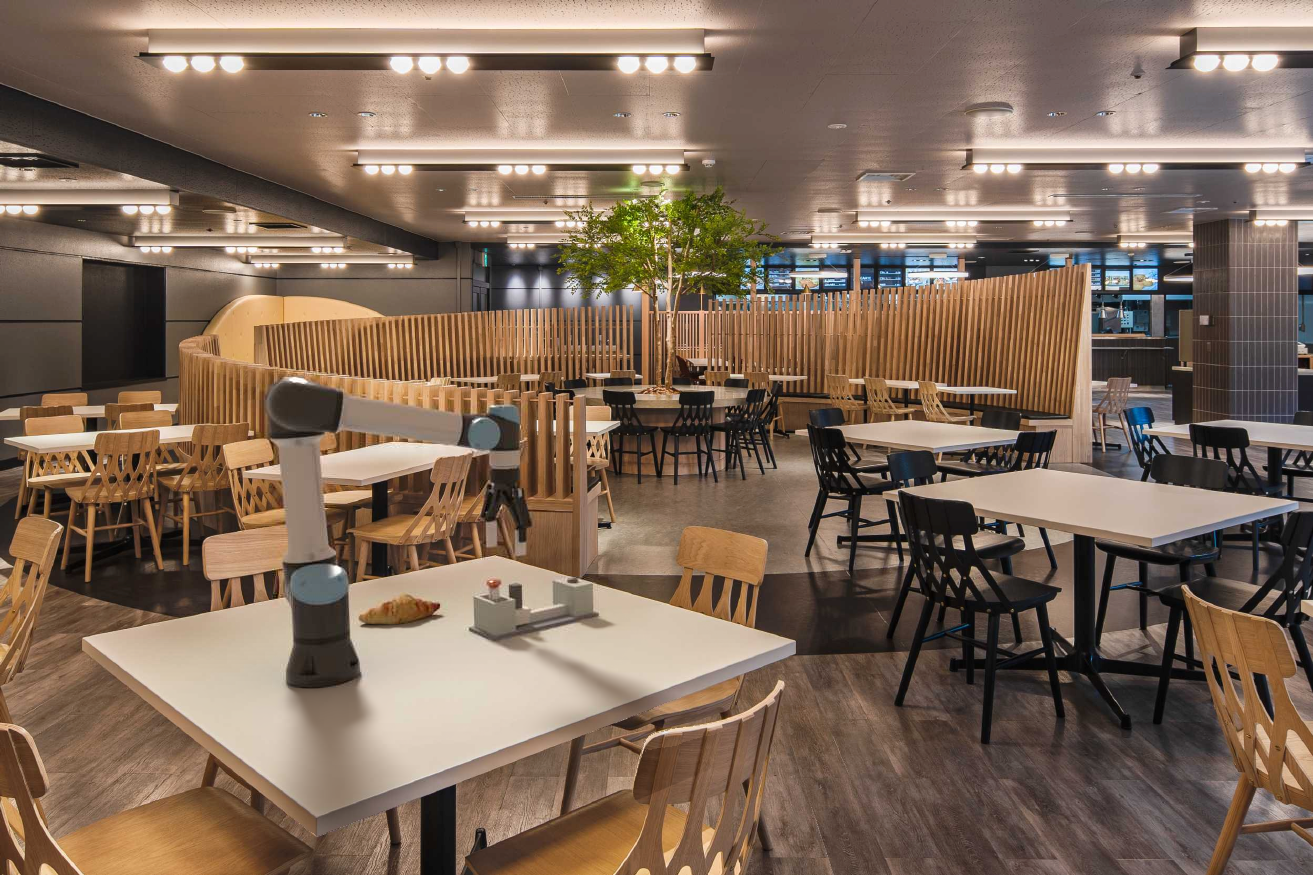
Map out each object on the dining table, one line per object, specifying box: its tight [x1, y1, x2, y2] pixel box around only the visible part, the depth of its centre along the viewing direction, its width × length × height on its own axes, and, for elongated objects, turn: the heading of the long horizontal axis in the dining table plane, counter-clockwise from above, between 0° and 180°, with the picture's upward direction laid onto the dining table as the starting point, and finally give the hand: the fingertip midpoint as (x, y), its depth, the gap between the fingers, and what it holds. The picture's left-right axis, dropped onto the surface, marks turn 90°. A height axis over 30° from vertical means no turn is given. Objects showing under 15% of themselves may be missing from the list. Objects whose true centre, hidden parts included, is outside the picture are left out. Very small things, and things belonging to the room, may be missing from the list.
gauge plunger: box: [486, 578, 502, 603], centre depth 228 cm, size 4×4×9 cm
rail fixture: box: [468, 576, 600, 642], centre depth 236 cm, size 32×12×10 cm, turn 131°
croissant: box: [357, 593, 441, 625], centre depth 241 cm, size 21×10×8 cm
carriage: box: [508, 582, 532, 626], centre depth 232 cm, size 5×6×10 cm
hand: (505, 551), depth 229 cm, fingers open, 13 cm apart
